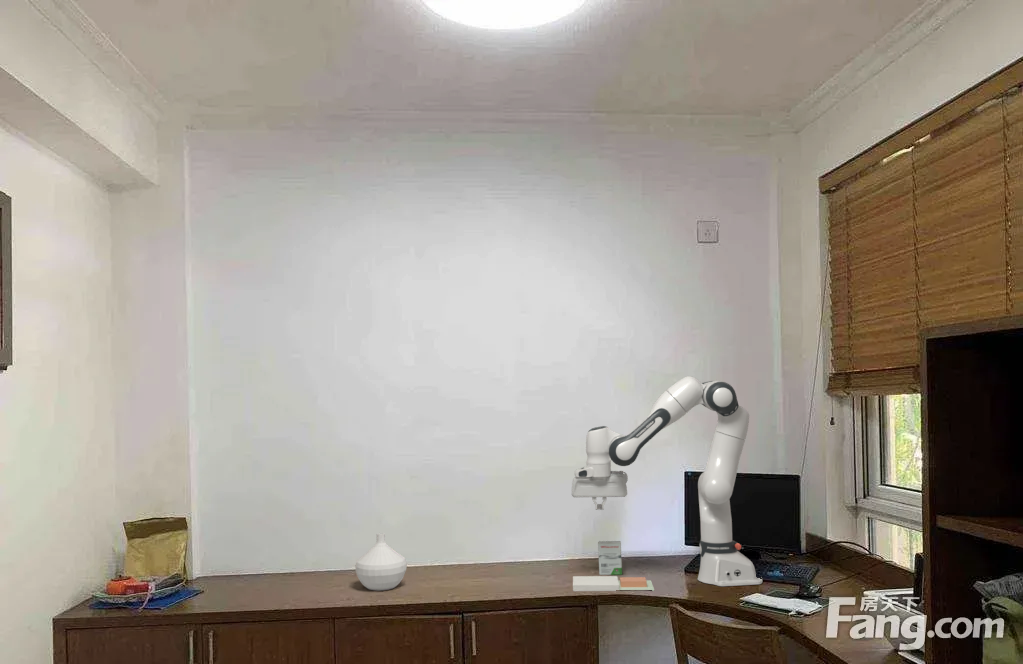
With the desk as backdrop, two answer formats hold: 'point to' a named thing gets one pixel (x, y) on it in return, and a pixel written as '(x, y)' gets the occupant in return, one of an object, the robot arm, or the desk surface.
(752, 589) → the desk surface
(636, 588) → the mat
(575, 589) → the deck
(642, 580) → the card
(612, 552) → the ink box
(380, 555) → the vase
